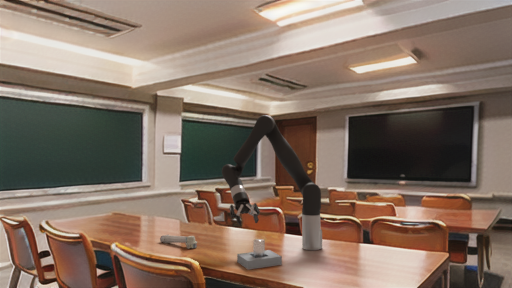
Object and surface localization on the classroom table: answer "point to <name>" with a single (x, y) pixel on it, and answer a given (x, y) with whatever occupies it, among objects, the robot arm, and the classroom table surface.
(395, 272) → the classroom table surface
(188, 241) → the grey elongated piece
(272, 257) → the jig plate
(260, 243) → the steel bushing
